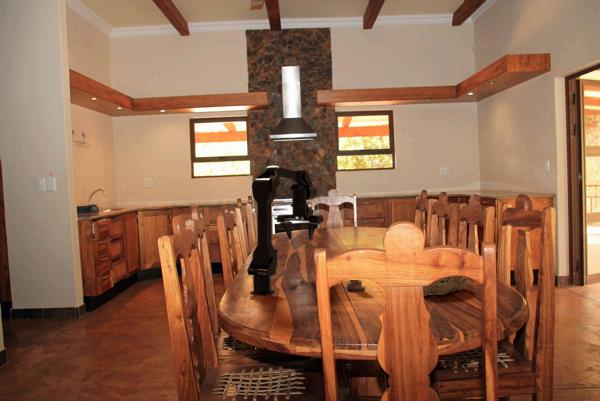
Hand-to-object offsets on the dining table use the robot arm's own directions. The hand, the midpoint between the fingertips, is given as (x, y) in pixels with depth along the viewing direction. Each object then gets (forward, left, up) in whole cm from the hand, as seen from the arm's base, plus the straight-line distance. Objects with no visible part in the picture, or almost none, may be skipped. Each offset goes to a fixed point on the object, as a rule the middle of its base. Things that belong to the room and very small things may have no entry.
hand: (300, 240), depth 186 cm
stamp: (-17, -30, -13) cm, 37 cm away
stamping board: (-19, -26, -15) cm, 35 cm away
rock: (-4, -55, -15) cm, 57 cm away
